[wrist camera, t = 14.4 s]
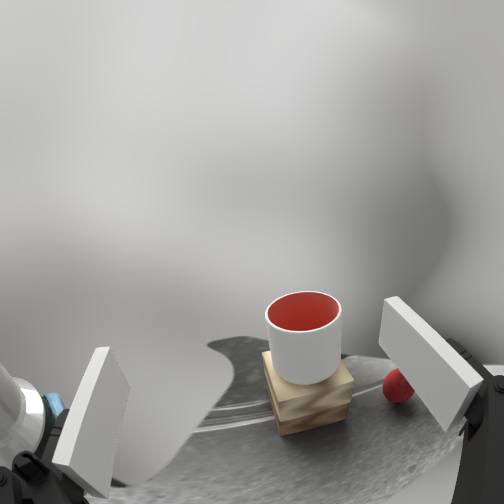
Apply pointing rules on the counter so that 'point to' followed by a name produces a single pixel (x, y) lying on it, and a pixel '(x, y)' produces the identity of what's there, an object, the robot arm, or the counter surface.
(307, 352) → the cup
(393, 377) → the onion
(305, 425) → the block bottom
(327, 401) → the block top
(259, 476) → the counter surface
